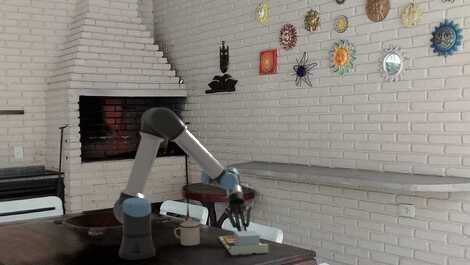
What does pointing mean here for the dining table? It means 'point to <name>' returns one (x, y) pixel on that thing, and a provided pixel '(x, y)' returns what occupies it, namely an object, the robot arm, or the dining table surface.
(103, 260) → the dining table surface
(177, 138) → the robot arm
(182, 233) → the teacup with lid
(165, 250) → the dining table surface
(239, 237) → the slate block
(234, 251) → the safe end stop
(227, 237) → the tray
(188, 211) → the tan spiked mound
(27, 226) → the dining table surface
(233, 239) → the trap tiles
